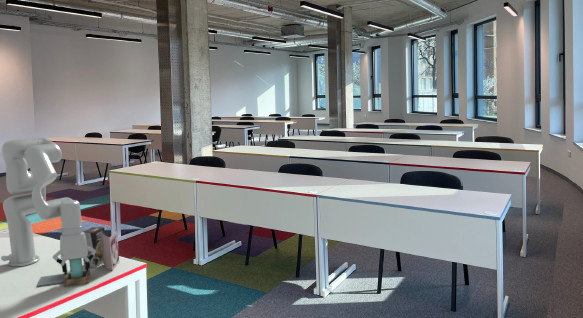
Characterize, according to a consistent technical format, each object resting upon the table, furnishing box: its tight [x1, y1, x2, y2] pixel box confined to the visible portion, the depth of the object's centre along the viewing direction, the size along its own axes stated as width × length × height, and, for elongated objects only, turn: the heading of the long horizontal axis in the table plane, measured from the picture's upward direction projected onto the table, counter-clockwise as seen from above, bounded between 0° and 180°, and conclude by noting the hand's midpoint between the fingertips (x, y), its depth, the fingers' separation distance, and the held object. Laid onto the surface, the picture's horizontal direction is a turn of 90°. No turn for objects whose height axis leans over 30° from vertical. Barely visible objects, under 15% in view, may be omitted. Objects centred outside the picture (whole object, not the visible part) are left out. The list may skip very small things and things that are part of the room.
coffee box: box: [82, 226, 106, 268], centre depth 216 cm, size 9×6×16 cm
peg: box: [68, 258, 84, 279], centre depth 196 cm, size 5×5×10 cm
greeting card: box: [100, 230, 120, 272], centre depth 211 cm, size 11×7×15 cm, turn 5°
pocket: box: [63, 269, 91, 288], centre depth 197 cm, size 9×9×2 cm
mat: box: [36, 273, 66, 288], centre depth 198 cm, size 10×10×1 cm
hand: (76, 271), depth 196 cm, fingers open, 7 cm apart
